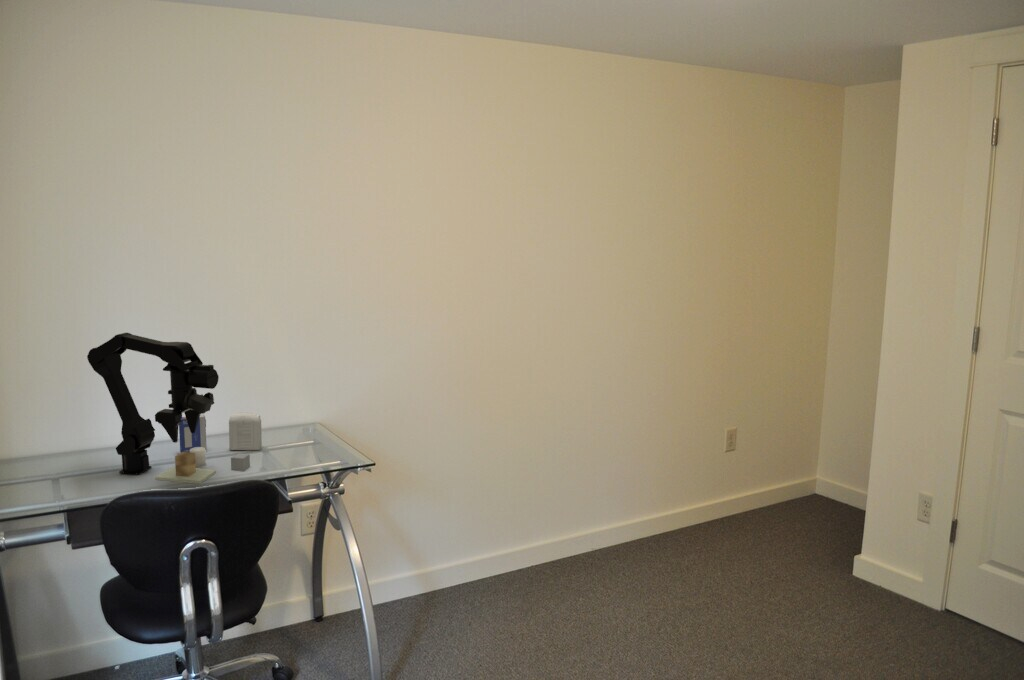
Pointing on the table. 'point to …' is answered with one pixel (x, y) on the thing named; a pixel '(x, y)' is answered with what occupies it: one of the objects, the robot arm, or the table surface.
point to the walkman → (192, 435)
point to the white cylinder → (199, 456)
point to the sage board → (194, 478)
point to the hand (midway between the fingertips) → (184, 437)
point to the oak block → (185, 464)
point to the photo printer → (245, 432)
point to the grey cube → (240, 462)
